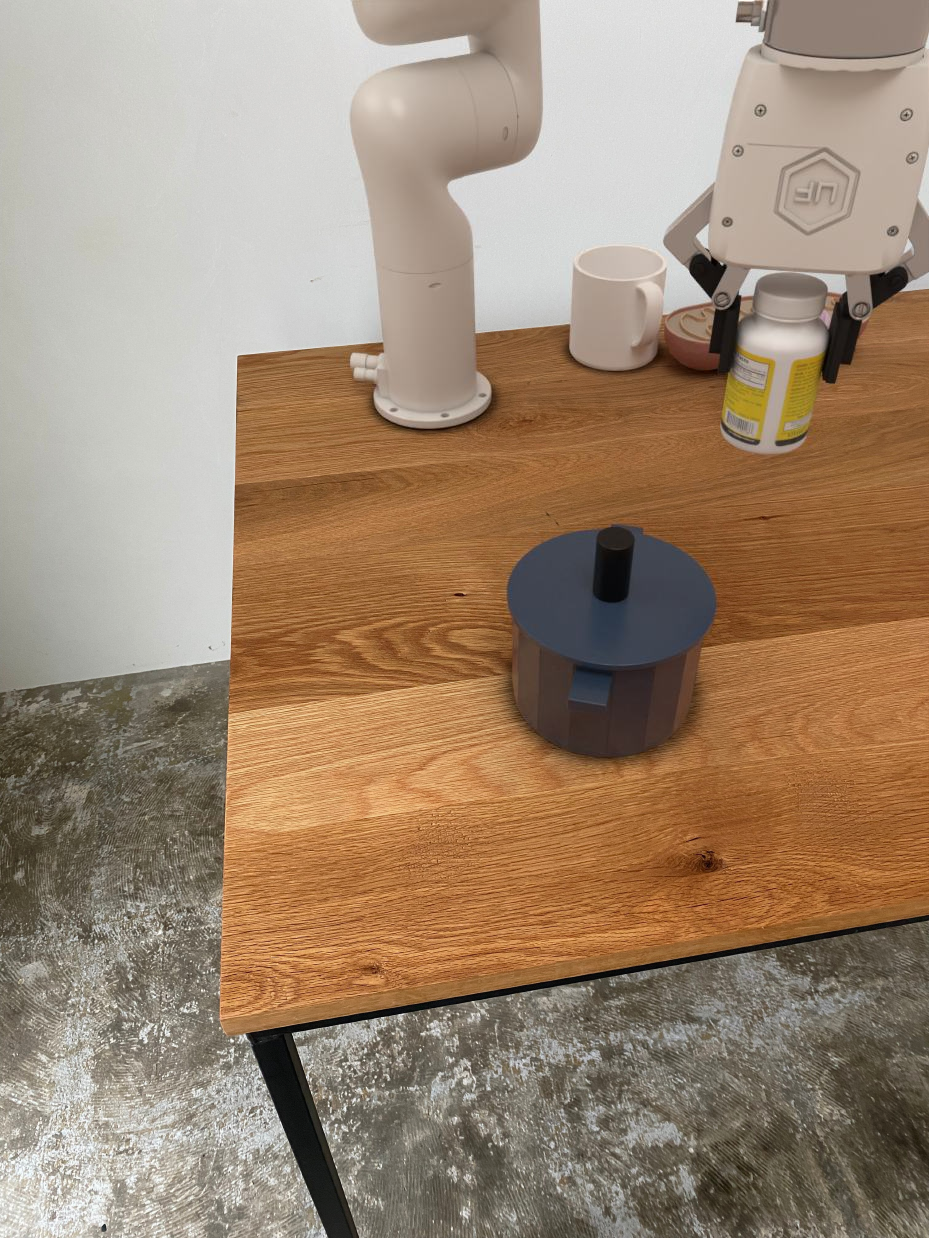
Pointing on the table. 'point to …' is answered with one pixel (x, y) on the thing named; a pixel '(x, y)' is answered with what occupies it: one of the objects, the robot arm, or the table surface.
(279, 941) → the table surface
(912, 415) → the table surface
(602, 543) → the pot lid
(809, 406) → the supplement bottle
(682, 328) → the mitochondrion model
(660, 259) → the mug
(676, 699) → the pot
